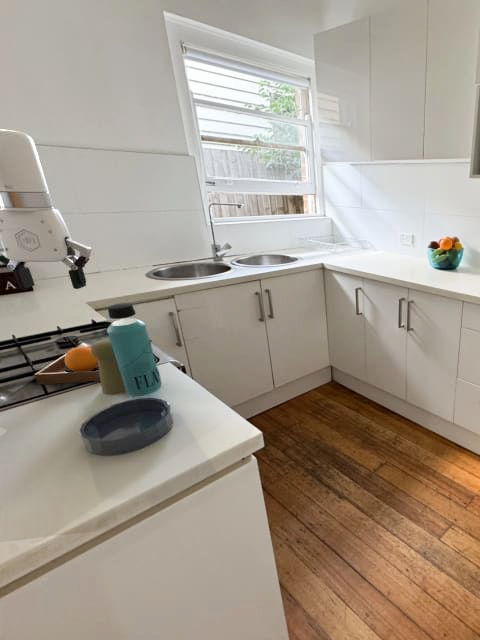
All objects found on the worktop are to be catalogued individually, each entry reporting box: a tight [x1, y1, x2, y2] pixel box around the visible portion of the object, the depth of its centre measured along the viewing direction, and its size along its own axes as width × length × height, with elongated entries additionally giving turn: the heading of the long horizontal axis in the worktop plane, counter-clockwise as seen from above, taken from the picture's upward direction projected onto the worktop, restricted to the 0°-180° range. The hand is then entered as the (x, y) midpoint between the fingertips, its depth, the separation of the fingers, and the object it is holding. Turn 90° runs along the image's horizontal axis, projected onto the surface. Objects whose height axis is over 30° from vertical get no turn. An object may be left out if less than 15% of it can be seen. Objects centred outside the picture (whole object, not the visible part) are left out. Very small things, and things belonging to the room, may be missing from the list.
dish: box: [78, 397, 175, 457], centre depth 69 cm, size 13×13×3 cm
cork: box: [90, 338, 127, 396], centre depth 81 cm, size 6×6×11 cm
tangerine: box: [65, 346, 98, 372], centre depth 87 cm, size 6×6×6 cm
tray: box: [33, 352, 101, 385], centre depth 89 cm, size 13×11×2 cm
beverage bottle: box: [106, 302, 162, 397], centre depth 76 cm, size 6×7×20 cm
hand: (54, 287), depth 81 cm, fingers open, 9 cm apart
